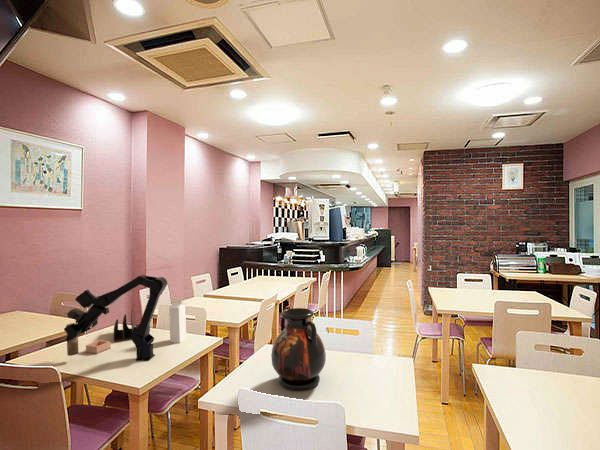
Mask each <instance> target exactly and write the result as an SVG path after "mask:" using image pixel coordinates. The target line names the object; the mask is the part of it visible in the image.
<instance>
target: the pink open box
mask: <svg viewBox="0 0 600 450" xmlns="http://www.w3.org/2000/svg"><path fill="white" fill-rule="evenodd" d="M110 349H111V341H107V340H102V339H98V340H96V341H94V342H93V341H92V342H91V343H89V344H86V345H85V352H86V353H90V354H95V355H97V354H99V353H103V352H104V351H108V350H110Z"/></svg>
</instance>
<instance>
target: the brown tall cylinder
mask: <svg viewBox="0 0 600 450" xmlns="http://www.w3.org/2000/svg"><path fill="white" fill-rule="evenodd" d="M70 324H75V325H76V324H78V323H76V322H70V323H67V324H65V325H66V326H68V325H70ZM66 326H65V327H66ZM65 332H66V331H65ZM67 336H68V333H67V332H66V337H67ZM66 350H67V352H66V353H67V356H70V357H71V356H76V355H78V354H79V336H77V337H75V338H73V339H71V340H69V341H66Z"/></svg>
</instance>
